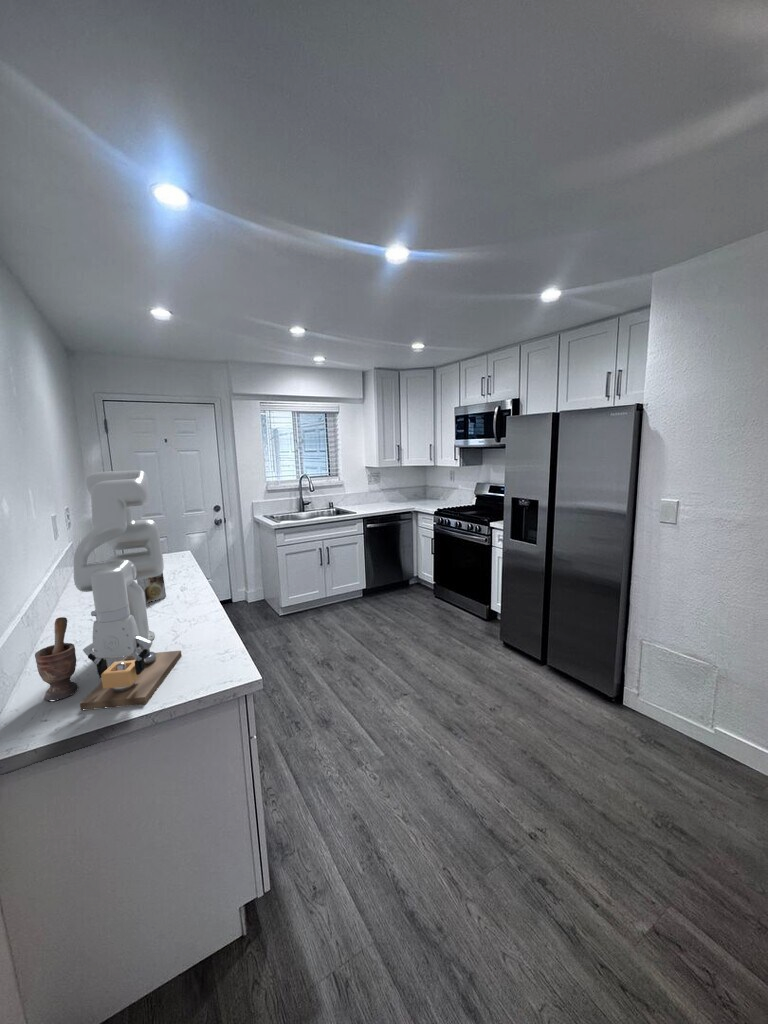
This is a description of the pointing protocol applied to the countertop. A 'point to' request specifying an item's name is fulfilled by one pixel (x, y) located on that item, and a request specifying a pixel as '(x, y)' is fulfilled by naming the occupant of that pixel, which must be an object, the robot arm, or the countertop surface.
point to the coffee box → (153, 588)
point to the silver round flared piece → (122, 689)
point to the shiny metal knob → (148, 656)
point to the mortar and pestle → (58, 664)
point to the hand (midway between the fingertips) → (122, 673)
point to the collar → (119, 675)
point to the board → (143, 684)
